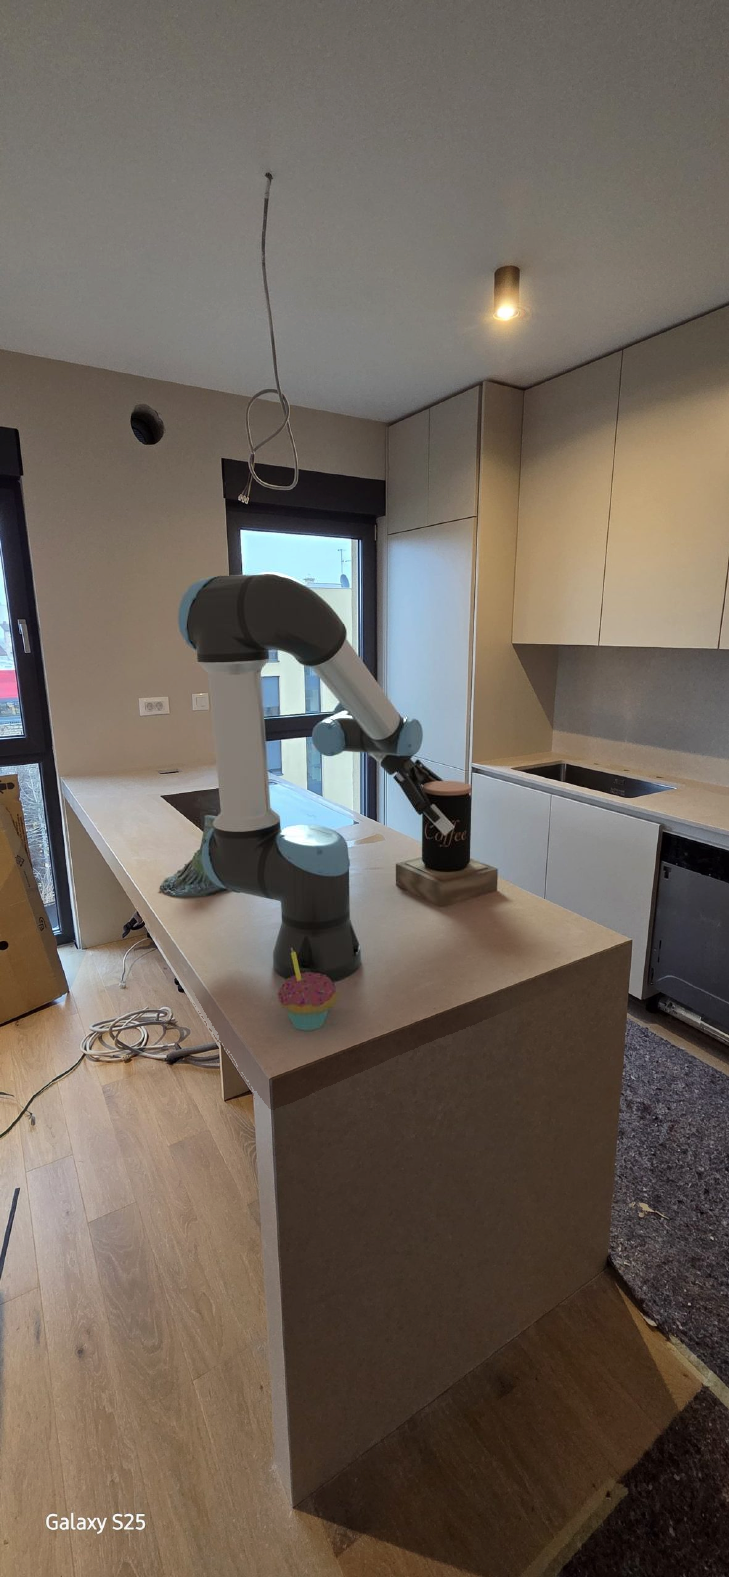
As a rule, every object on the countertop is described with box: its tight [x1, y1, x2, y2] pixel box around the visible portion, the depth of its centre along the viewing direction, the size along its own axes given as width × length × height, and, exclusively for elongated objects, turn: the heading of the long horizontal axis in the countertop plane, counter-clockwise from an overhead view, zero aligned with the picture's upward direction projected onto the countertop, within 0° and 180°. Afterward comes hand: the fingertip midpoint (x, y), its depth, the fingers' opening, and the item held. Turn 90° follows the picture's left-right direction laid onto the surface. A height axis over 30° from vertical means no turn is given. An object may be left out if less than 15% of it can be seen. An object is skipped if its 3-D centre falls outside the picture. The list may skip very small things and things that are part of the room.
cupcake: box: [277, 948, 339, 1032], centre depth 95 cm, size 9×8×12 cm
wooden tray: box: [395, 856, 499, 908], centre depth 147 cm, size 16×16×5 cm
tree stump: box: [159, 814, 227, 898], centre depth 153 cm, size 18×20×18 cm
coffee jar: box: [421, 780, 472, 872], centre depth 144 cm, size 11×11×18 cm
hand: (457, 822), depth 143 cm, fingers open, 13 cm apart
